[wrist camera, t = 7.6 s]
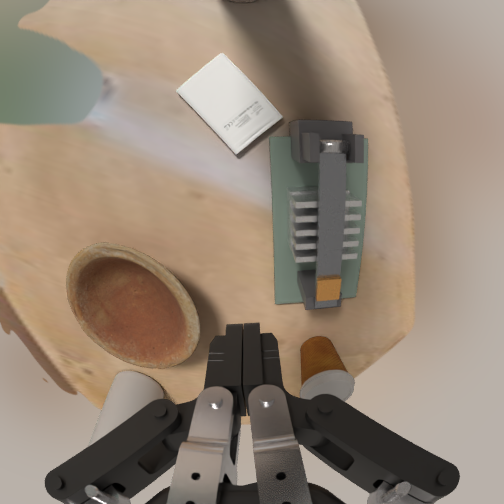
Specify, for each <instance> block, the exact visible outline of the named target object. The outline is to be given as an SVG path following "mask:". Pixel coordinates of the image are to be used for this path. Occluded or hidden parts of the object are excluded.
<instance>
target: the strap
mask: <svg viewBox="0 0 504 504" xmlns="http://www.w3.org/2000/svg"><path fill="white" fill-rule="evenodd" d="M319 142H320V162H318V229H317V257H316V276H315V292H314V307H315V308H323V307H333V306H337V299H339V296H340V288H341V277H340V273H341V262H342V251H343V238H344V222H345V201H346V155H348V154H349V153H350V143H349V141H348V140H327V139H319Z"/></svg>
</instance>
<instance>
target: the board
mask: <svg viewBox="0 0 504 504" xmlns="http://www.w3.org/2000/svg"><path fill="white" fill-rule="evenodd" d="M269 143H270V163H271V186H272V212H273V242H274V281H275V304H284V303H297V302H303V300H302V297H301V293H300V290H299V287H298V283H297V271H300V270H315V269H316V261H314V262H299V263H296V262H295V259H294V257H293V254H292V251H291V250H290V247H289V244H288V236H287V187H307V186H318V163H299V162H297V161H295V160H294V159H292V157H291V136H286V137H269ZM367 175H368V139H365V138H364V163H354V162H353V163H346V189H348V190H349V191H350V193H351V194H352V195H354V196H355V197H357V198H359V199H360V200H362V206H358V207H352V208H353V209H355V210H356V211H357V212H358V213H360V214H361V220H352V221H353V222H354V223H355V224H356V225H357V226H358V227H359V228H360V233H357V234H353V235H354V236H355V237H356V238H357V240H358V241H359V244H358V246H353V249H354V250H355V251H356V252H357V253H358V254H357V259H344V260H342V262H341V273H340V277H341V288H340V291H341V293H342V298H351V297H356V292H357V286H358V279H359V272H360V264H361V256H362V247H363V237H364V226H365V214H366V198H367Z"/></svg>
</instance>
